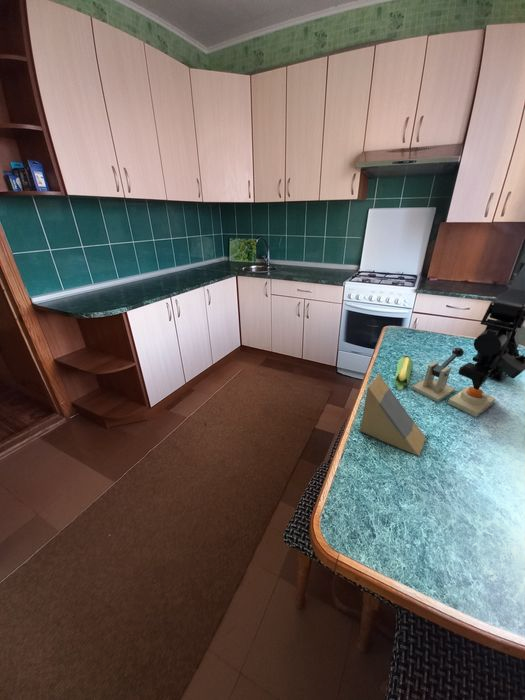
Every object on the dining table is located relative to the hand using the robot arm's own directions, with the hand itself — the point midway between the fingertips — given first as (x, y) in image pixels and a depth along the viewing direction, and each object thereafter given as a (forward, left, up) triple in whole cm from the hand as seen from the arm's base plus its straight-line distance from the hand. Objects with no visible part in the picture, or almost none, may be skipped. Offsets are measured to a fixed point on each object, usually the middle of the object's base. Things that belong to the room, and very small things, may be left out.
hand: (476, 388), depth 88 cm
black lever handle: (-3, -11, +3) cm, 11 cm away
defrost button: (0, 0, -2) cm, 2 cm away
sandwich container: (+32, -5, -6) cm, 33 cm away
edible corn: (+4, -21, -6) cm, 22 cm away
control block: (0, 0, -5) cm, 5 cm away
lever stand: (+3, -10, -5) cm, 12 cm away
